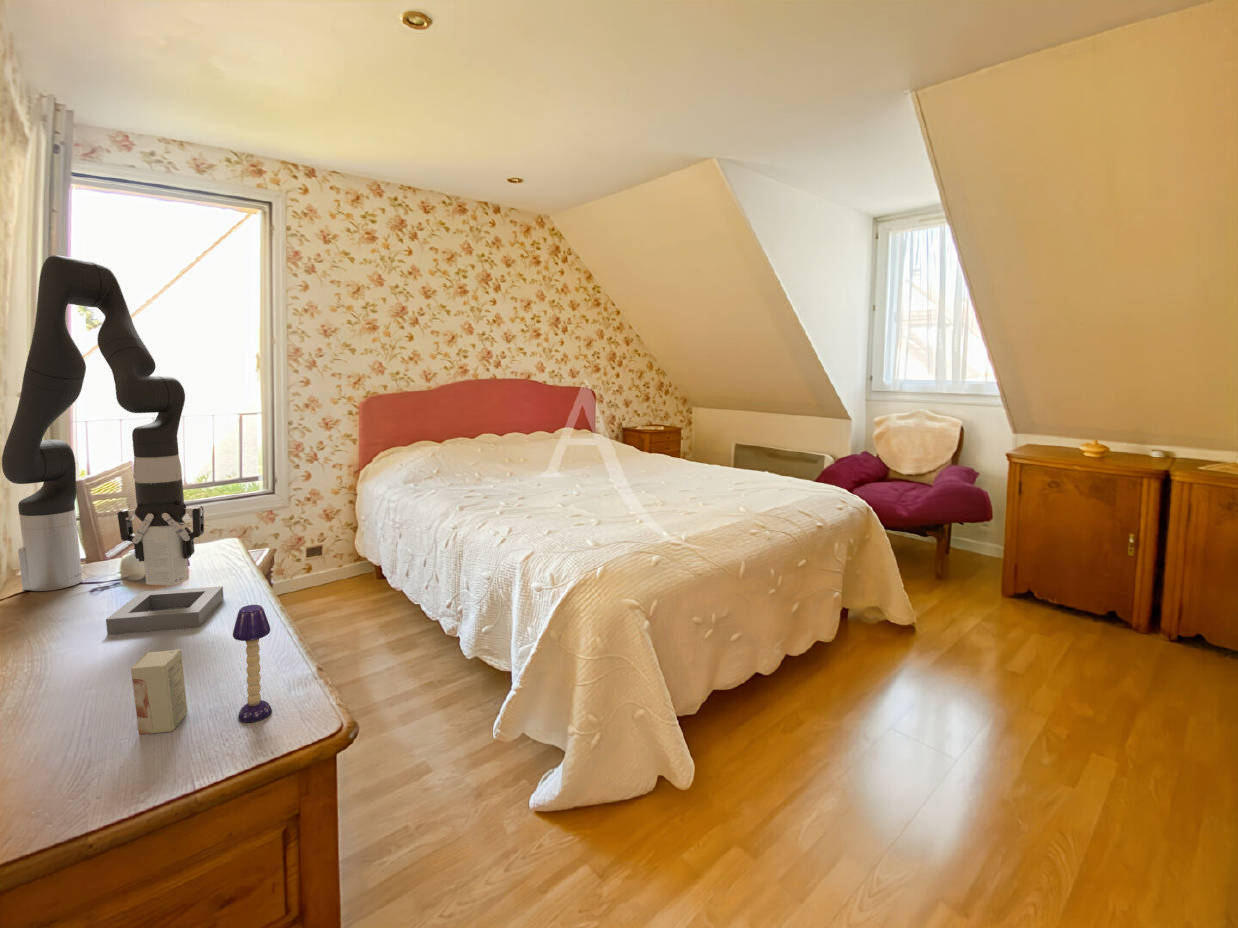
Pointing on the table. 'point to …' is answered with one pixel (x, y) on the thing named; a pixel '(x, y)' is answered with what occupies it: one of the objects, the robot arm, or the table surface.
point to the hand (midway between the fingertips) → (165, 558)
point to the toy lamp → (252, 659)
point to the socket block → (140, 619)
